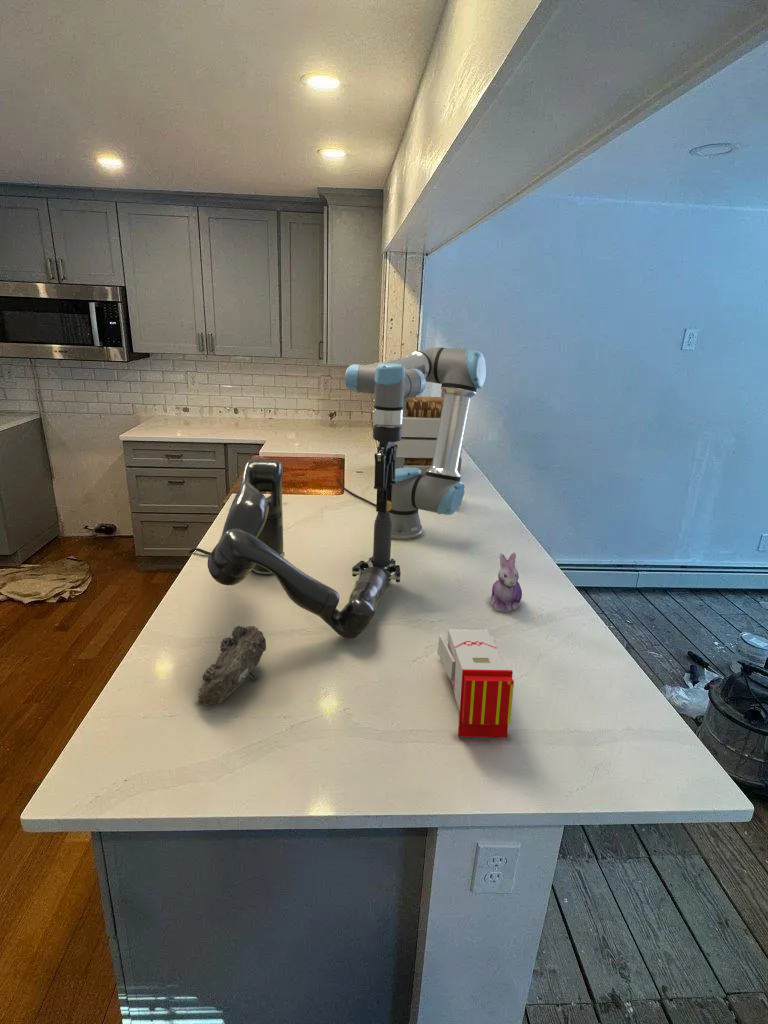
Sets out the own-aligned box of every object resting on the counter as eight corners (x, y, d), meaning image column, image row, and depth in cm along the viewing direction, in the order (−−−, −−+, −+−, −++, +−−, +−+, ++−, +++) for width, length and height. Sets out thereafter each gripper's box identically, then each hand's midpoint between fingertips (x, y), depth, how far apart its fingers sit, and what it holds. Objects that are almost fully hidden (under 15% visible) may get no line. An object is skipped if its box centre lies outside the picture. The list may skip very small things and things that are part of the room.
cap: (391, 506, 158) (391, 500, 157) (391, 511, 154) (391, 504, 153) (376, 506, 158) (376, 499, 157) (376, 511, 154) (376, 504, 153)
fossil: (217, 628, 129) (265, 598, 124) (246, 656, 132) (293, 628, 127) (177, 698, 110) (231, 666, 105) (211, 729, 113) (266, 699, 108)
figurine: (503, 617, 148) (510, 564, 143) (480, 599, 156) (486, 549, 151) (531, 609, 152) (539, 558, 147) (507, 593, 161) (513, 544, 156)
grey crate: (382, 463, 289) (386, 382, 275) (445, 464, 293) (451, 384, 279) (390, 482, 257) (394, 392, 243) (460, 483, 261) (468, 394, 247)
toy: (488, 613, 130) (523, 677, 101) (484, 667, 133) (517, 744, 104) (435, 612, 130) (455, 676, 101) (432, 666, 133) (451, 743, 103)
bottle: (369, 580, 165) (372, 502, 157) (384, 578, 167) (388, 500, 159) (375, 588, 161) (379, 508, 152) (391, 585, 163) (395, 506, 154)
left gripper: (343, 595, 151) (358, 568, 167) (396, 602, 148) (406, 575, 164) (344, 570, 148) (359, 545, 164) (397, 577, 146) (408, 551, 162)
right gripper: (383, 418, 157) (380, 498, 165) (363, 429, 141) (360, 517, 149) (409, 420, 155) (405, 501, 163) (392, 432, 139) (387, 521, 147)
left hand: (383, 560), depth 164 cm, fingers closed on bottle, 5 cm apart
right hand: (383, 508), depth 156 cm, fingers closed on cap, 4 cm apart
